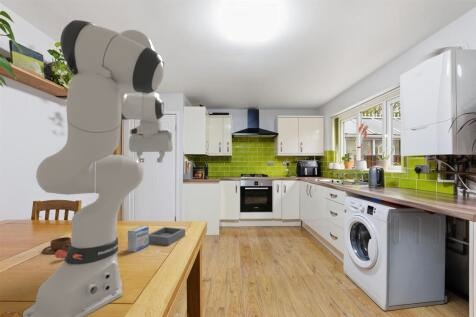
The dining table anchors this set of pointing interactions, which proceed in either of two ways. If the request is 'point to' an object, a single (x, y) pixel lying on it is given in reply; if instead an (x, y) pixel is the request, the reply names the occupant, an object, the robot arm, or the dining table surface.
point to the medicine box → (138, 238)
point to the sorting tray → (166, 235)
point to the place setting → (58, 245)
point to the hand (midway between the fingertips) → (150, 162)
